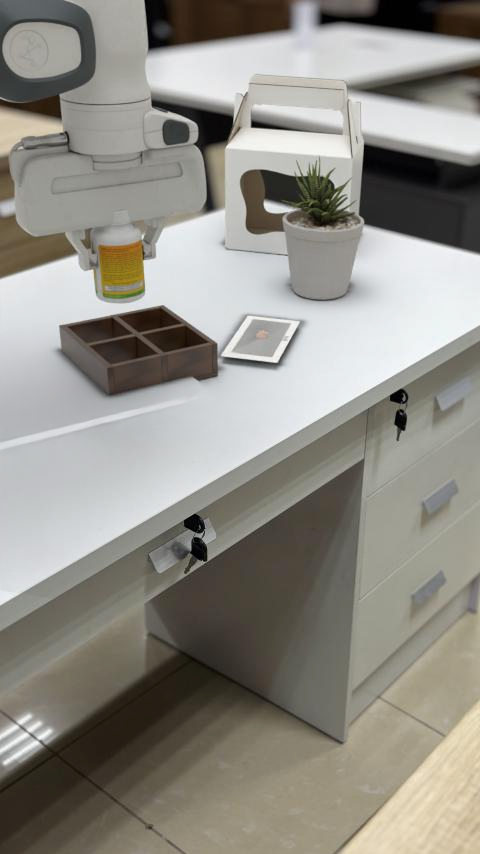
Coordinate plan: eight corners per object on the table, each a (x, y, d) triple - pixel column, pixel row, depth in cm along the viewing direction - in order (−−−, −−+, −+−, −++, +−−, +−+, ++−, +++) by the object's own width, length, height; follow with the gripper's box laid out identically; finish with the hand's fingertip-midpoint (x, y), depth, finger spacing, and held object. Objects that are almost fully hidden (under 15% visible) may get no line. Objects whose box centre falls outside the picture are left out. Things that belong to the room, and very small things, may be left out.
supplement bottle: (155, 296, 104) (150, 207, 98) (115, 308, 100) (107, 217, 95) (126, 283, 107) (119, 196, 102) (86, 295, 104) (77, 205, 98)
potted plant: (373, 284, 155) (384, 158, 145) (339, 311, 145) (347, 177, 134) (304, 270, 160) (310, 147, 149) (266, 295, 150) (269, 165, 139)
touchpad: (220, 363, 128) (220, 348, 127) (247, 322, 140) (248, 308, 139) (277, 370, 126) (277, 355, 125) (299, 328, 139) (300, 314, 138)
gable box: (223, 249, 168) (222, 79, 153) (242, 228, 179) (243, 67, 164) (347, 261, 165) (358, 88, 150) (358, 239, 176) (370, 75, 160)
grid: (109, 402, 117) (107, 368, 115) (62, 357, 128) (58, 325, 125) (218, 375, 124) (217, 343, 122) (164, 335, 135) (163, 304, 133)
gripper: (17, 145, 87) (35, 289, 95) (212, 123, 97) (215, 256, 104) (-5, 132, 92) (14, 270, 99) (183, 112, 101) (188, 240, 109)
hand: (118, 263), depth 102 cm, fingers closed on supplement bottle, 5 cm apart
